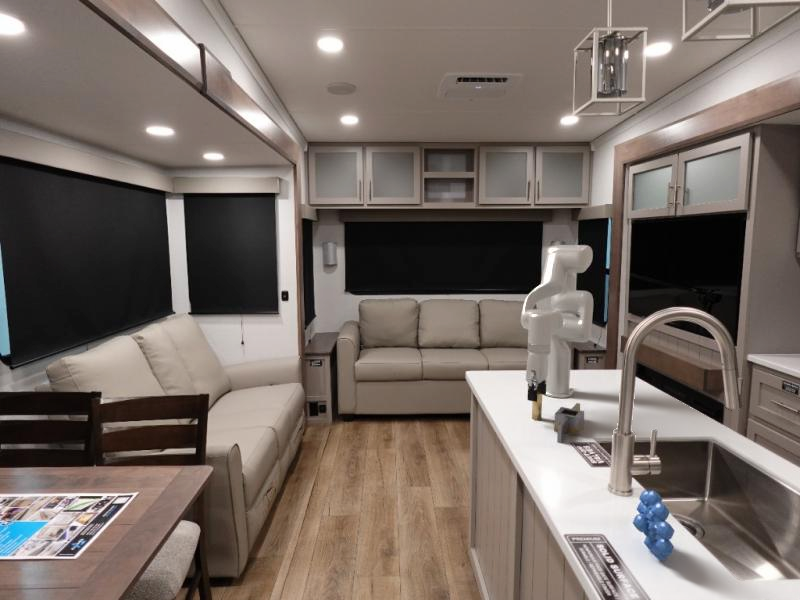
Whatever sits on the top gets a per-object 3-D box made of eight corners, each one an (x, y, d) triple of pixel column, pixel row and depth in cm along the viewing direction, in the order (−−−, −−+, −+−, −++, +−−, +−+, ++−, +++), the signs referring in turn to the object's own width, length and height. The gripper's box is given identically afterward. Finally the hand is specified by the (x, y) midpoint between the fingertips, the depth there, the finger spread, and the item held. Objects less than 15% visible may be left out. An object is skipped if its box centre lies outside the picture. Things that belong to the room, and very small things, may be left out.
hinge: (566, 416, 167) (567, 400, 166) (589, 421, 163) (589, 404, 162) (546, 439, 148) (547, 421, 147) (571, 445, 144) (572, 426, 143)
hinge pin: (533, 416, 167) (534, 391, 166) (542, 418, 166) (543, 393, 165) (530, 419, 165) (531, 394, 164) (539, 421, 163) (540, 395, 162)
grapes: (618, 532, 101) (622, 479, 99) (651, 533, 100) (655, 480, 99) (643, 570, 89) (648, 510, 88) (680, 571, 89) (685, 511, 87)
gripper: (536, 343, 171) (534, 389, 173) (519, 351, 157) (517, 401, 158) (557, 346, 167) (554, 393, 169) (542, 354, 153) (539, 405, 154)
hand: (536, 397), depth 164 cm, fingers open, 9 cm apart
